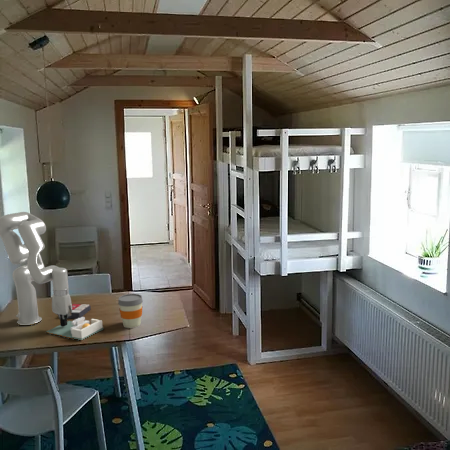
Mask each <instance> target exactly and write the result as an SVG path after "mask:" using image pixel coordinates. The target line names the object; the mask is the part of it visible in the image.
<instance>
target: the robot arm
mask: <svg viewBox="0 0 450 450" xmlns="http://www.w3.org/2000/svg"><path fill="white" fill-rule="evenodd" d="M46 225H47V224H45V222H44V220H42V219H41V218H39V217H38V216H36V215H34V214H32V213H30V212H27V211H21V212H15V213H10V214H4V215H2V216H0V239H1V241H2V242H3V246H4V248H5V250H6V253H7V255H8V256H7V257H8V259H9V261H10V263H11V264H12V265H21V264H24V265H21V266H19V267H17V268H15V269H14V270H13V272H12V280H13V282H14V285H15V289H16V291H15V292H16V298H17V299H16V300H17V306H18V313H17V314H16V315H15V317H16V318H18V320H17V321H16V324H17V323H18V324H20V325H30V324H34V323H38V322H40V321H41V320H42V319H43V318H42V317H41V316H39V309H38V308H39V307H38V301H37V300H38V299H37V291H36V288H35V286H34V285H33V284H32V282H35V283H36V284H37V285H43V284H46V283H48V282H51V281H52V291H53V294H52V298H51V310H52V313H54V314H55V315H56V316H58V319H59V322H60V323H59V324H60V325H61V326H62V327H64V326H66V325H67V321H68V319H67V318H68V317H69V316H71V312H72V305H73V304H72V298H71V295H70V290H69V279H68V278H69V277H68V269H67V268H65V267H60V266H57V265H48V266H46V267H45V264H44V262H43V259H42V255H41V252H43V250H44V249H45V246H46V245H45V243H44V241H43V240H42V237H41V235H43V234H45V233H46V231H47V226H46ZM14 230H18V233H19V234H17V232H15V231H14ZM19 235H20V236H19ZM21 239H22V240H21ZM22 241H23V242H22ZM25 263H27V264H25ZM42 321H43V320H42ZM42 321H41V322H42ZM41 322H40V323H41ZM38 324H39V323H38Z"/></svg>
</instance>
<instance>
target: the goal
mask: <svg viewBox="0 0 450 450" xmlns="http://www.w3.org/2000/svg"><path fill="white" fill-rule="evenodd" d="M101 328H103V329H104V325H103V320H102V319H96V318H91V319H90V325H89V326H87V327H85V328H83V329H81V330H80V329H75V328H73V329H71V330H72V337H76V338H81V339H82V338H84V337H86V336H88V335H90V334H92V333H94V332H96V331H97V330H99V329H101Z"/></svg>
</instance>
